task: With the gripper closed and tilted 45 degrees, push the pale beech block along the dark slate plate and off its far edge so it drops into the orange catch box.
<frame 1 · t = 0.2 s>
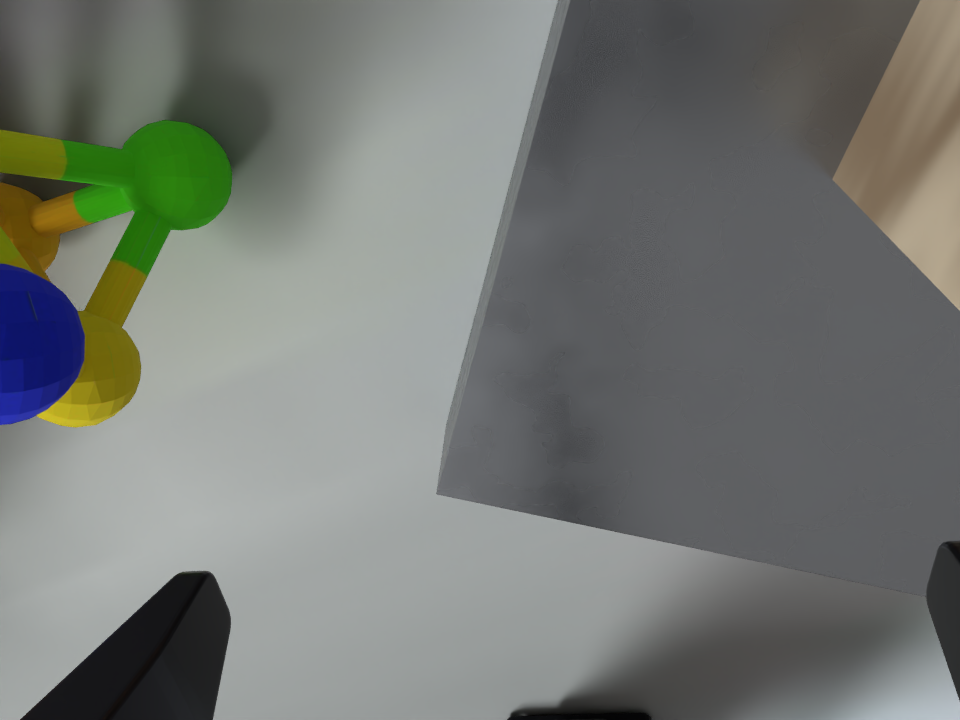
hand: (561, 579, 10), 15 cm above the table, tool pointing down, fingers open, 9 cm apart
slate plate: (858, 228, 23), on the table
molecular model: (40, 150, 23), on the table
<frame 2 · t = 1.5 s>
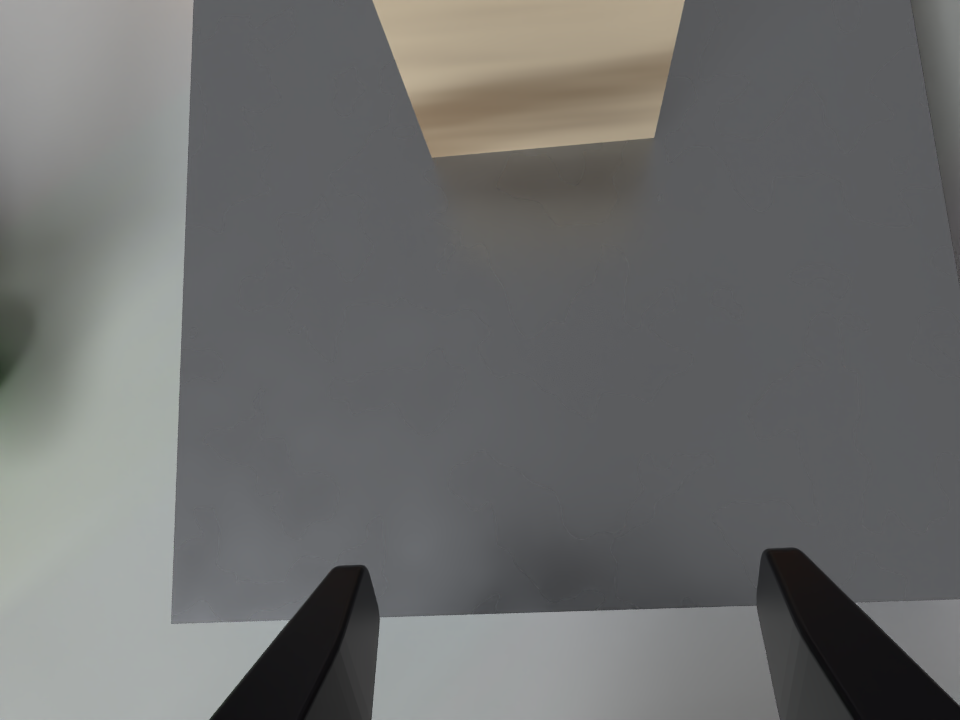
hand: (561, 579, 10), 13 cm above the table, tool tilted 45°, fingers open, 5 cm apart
slate plate: (548, 260, 24), on the table
beech block: (535, 48, 22), point 3 cm above the table, touching slate plate
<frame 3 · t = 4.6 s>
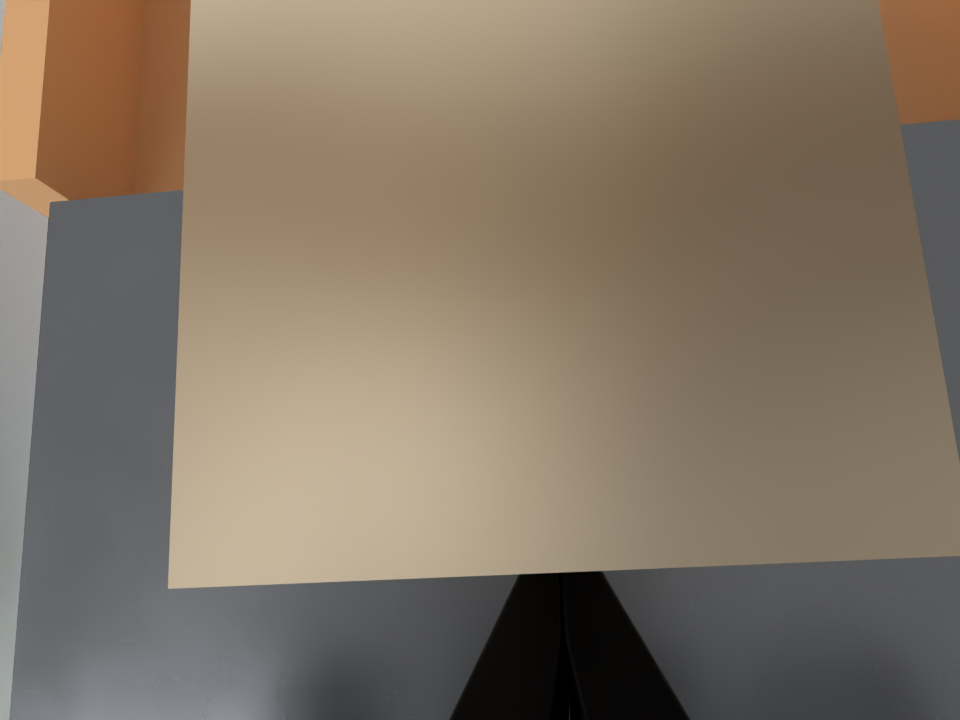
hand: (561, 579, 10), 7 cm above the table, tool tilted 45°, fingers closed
slate plate: (571, 675, 17), on the table
beech block: (549, 379, 14), point 4 cm above the table, touching slate plate
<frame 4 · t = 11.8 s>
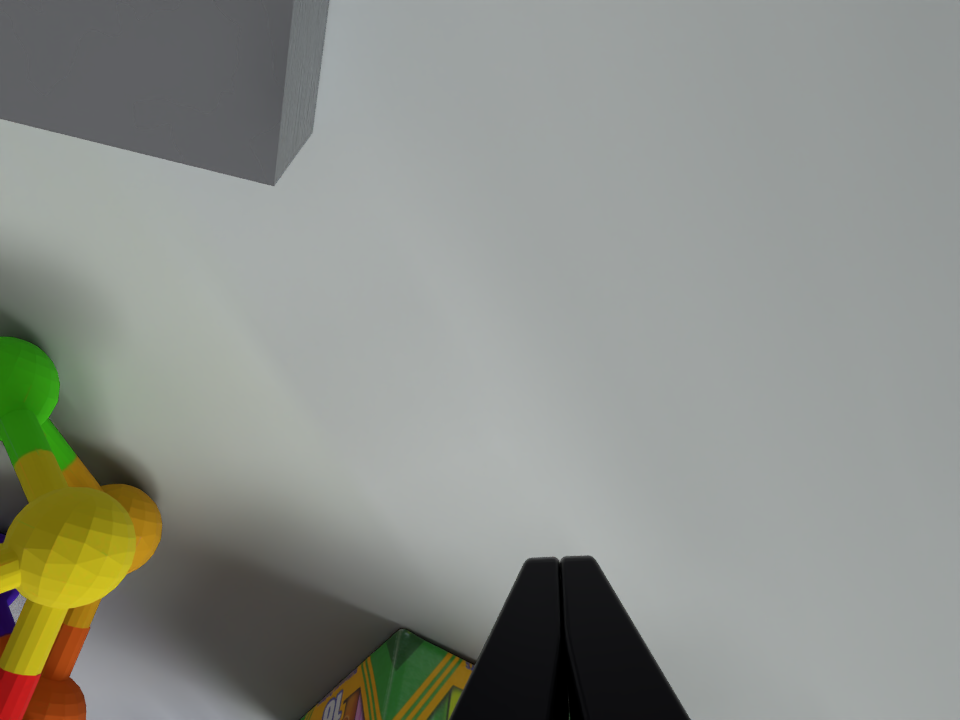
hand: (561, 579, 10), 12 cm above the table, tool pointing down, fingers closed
molecular model: (70, 473, 26), on the table
chalk box: (430, 716, 33), on the table
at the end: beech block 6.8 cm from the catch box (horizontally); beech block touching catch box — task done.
